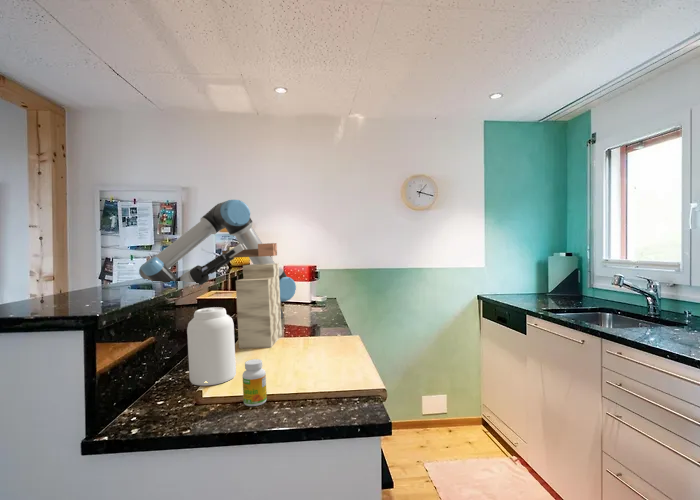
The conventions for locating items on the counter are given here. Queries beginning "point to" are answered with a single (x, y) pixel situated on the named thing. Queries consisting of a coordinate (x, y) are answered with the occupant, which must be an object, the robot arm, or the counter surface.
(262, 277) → the stand
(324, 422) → the counter surface
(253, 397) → the supplement bottle
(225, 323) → the white jar
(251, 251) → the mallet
